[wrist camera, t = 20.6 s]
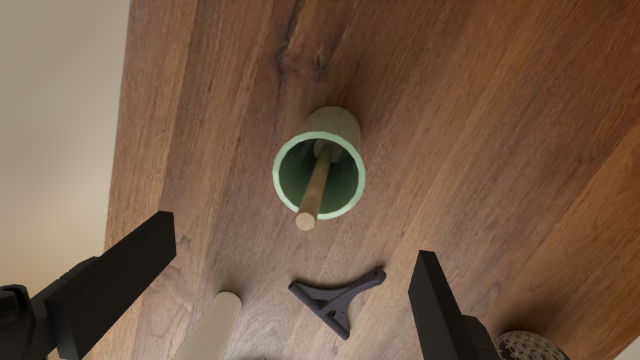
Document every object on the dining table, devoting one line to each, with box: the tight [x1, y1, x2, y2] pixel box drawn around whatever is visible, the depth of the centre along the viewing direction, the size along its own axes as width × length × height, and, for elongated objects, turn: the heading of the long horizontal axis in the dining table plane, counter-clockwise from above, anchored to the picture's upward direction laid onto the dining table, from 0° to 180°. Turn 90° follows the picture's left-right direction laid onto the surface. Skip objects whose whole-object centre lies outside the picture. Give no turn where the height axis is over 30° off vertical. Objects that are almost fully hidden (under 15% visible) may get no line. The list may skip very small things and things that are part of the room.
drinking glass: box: [172, 292, 242, 360], centre depth 49 cm, size 7×7×15 cm
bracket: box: [288, 267, 386, 340], centre depth 51 cm, size 14×15×3 cm
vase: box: [272, 106, 366, 219], centre depth 35 cm, size 8×8×17 cm
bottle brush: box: [295, 138, 342, 230], centre depth 31 cm, size 3×3×24 cm
